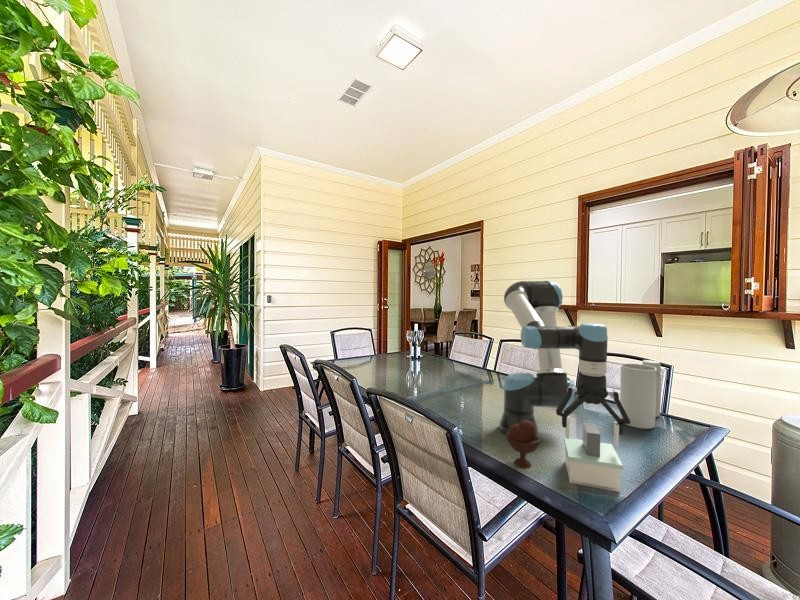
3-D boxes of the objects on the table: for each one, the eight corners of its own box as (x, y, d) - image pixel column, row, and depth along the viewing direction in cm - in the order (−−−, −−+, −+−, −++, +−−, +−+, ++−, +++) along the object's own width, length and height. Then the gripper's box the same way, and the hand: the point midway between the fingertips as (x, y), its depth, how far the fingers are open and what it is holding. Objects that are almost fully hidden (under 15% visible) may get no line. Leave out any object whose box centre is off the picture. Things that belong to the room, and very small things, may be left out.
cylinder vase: (640, 431, 136) (641, 371, 136) (612, 419, 148) (614, 364, 148) (662, 427, 140) (663, 369, 139) (634, 416, 152) (635, 362, 151)
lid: (568, 463, 100) (568, 433, 100) (563, 443, 113) (564, 417, 113) (622, 472, 95) (623, 441, 95) (611, 450, 108) (612, 422, 108)
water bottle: (655, 412, 157) (656, 360, 156) (663, 418, 149) (665, 363, 149) (633, 410, 159) (634, 359, 159) (640, 416, 152) (641, 362, 151)
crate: (569, 482, 100) (570, 460, 100) (565, 461, 113) (565, 441, 112) (620, 492, 96) (620, 468, 96) (609, 469, 108) (610, 448, 108)
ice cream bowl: (531, 455, 117) (531, 413, 117) (546, 472, 106) (546, 426, 105) (501, 455, 117) (501, 413, 116) (513, 473, 106) (513, 427, 105)
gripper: (549, 372, 104) (548, 439, 105) (644, 380, 95) (642, 453, 96) (548, 367, 111) (547, 430, 112) (636, 374, 102) (634, 442, 103)
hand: (591, 440), depth 104 cm, fingers open, 13 cm apart
